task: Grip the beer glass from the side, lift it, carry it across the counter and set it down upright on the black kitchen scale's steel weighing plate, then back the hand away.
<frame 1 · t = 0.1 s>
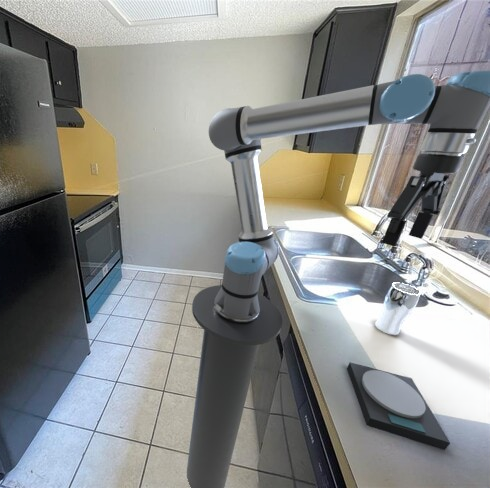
hand: (402, 240, 66), 31 cm above the worktop, tool pointing down, fingers open, 13 cm apart
beer glass: (386, 328, 81), on the worktop
scale: (388, 403, 58), on the worktop
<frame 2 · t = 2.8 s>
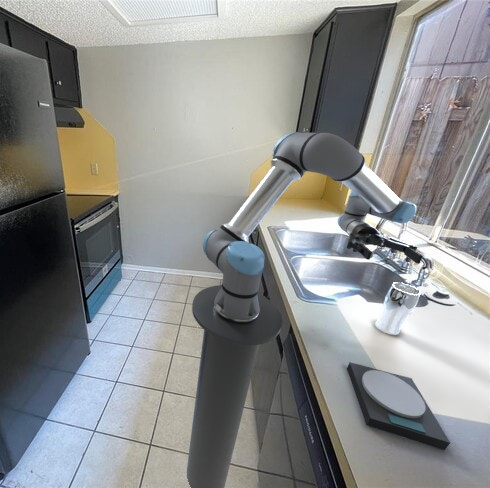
hand: (394, 257, 80), 21 cm above the worktop, tool horizontal, fingers open, 13 cm apart
nothing on the worktop moved.
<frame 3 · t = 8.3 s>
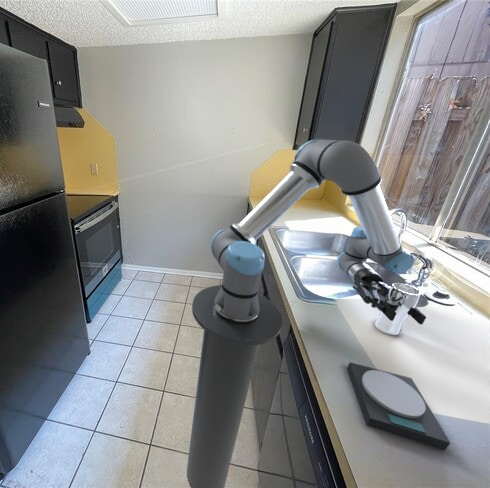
hand: (408, 318, 74), 8 cm above the worktop, tool horizontal, fingers closed on beer glass, 7 cm apart
beer glass: (386, 328, 81), on the worktop, touching gripper
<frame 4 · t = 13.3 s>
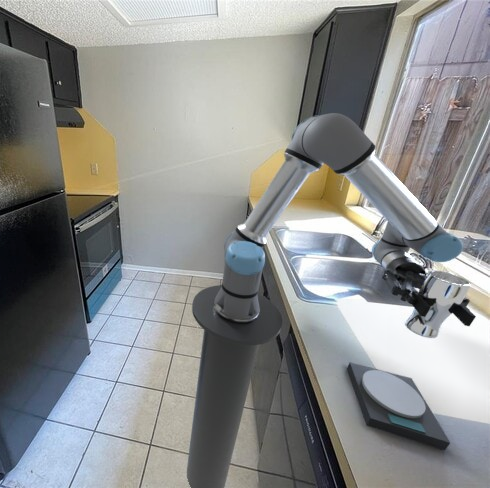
hand: (447, 316, 56), 20 cm above the worktop, tool horizontal, fingers closed on beer glass, 7 cm apart
beer glass: (419, 330, 64), point 12 cm above the worktop, touching gripper
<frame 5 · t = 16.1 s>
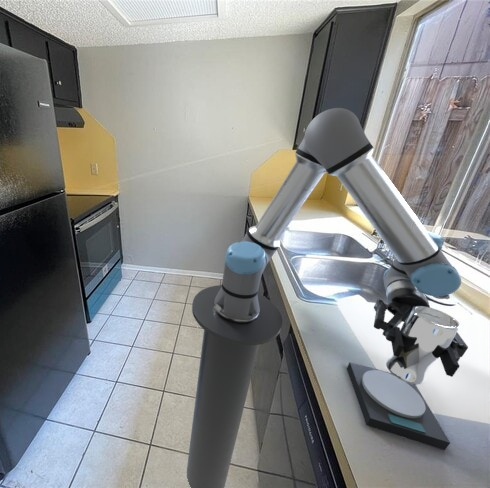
hand: (424, 360, 48), 17 cm above the worktop, tool horizontal, fingers closed on beer glass, 7 cm apart
beer glass: (403, 372, 55), point 9 cm above the worktop, touching gripper
when the fingers open (11 cm above the worktop, at t = 18.2 s): beer glass stays where it is, resting on scale.
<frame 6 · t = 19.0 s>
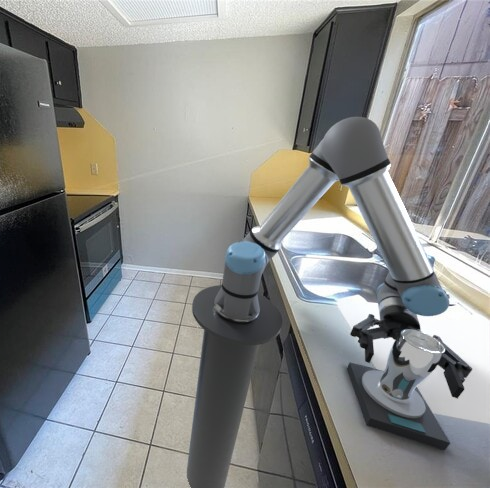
hand: (411, 374, 52), 12 cm above the worktop, tool horizontal, fingers open, 13 cm apart
beer glass: (392, 391, 58), point 3 cm above the worktop, touching scale
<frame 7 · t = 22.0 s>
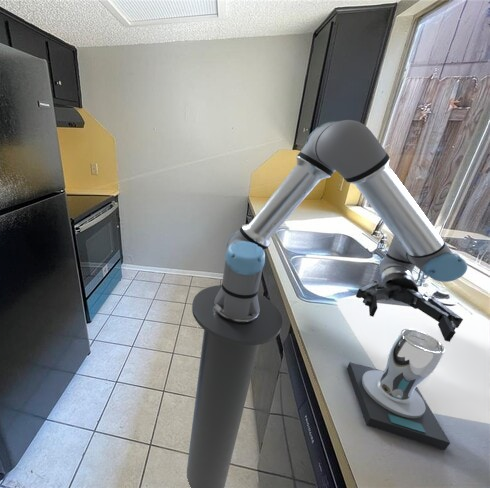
hand: (409, 323, 60), 16 cm above the worktop, tool horizontal, fingers open, 13 cm apart
nothing on the worktop moved.
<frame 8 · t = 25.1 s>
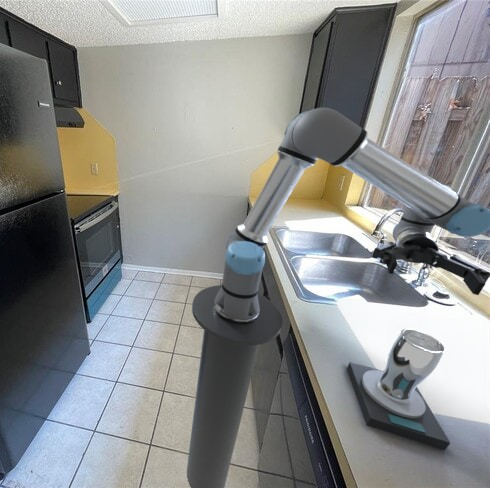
hand: (433, 278, 55), 28 cm above the worktop, tool horizontal, fingers open, 13 cm apart
nothing on the worktop moved.
at the end: beer glass inside the target area on the scale (0.0 cm from its centre), point 3.0 cm above the scale's base; beer glass tilted 0°; the gripper is holding nothing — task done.
